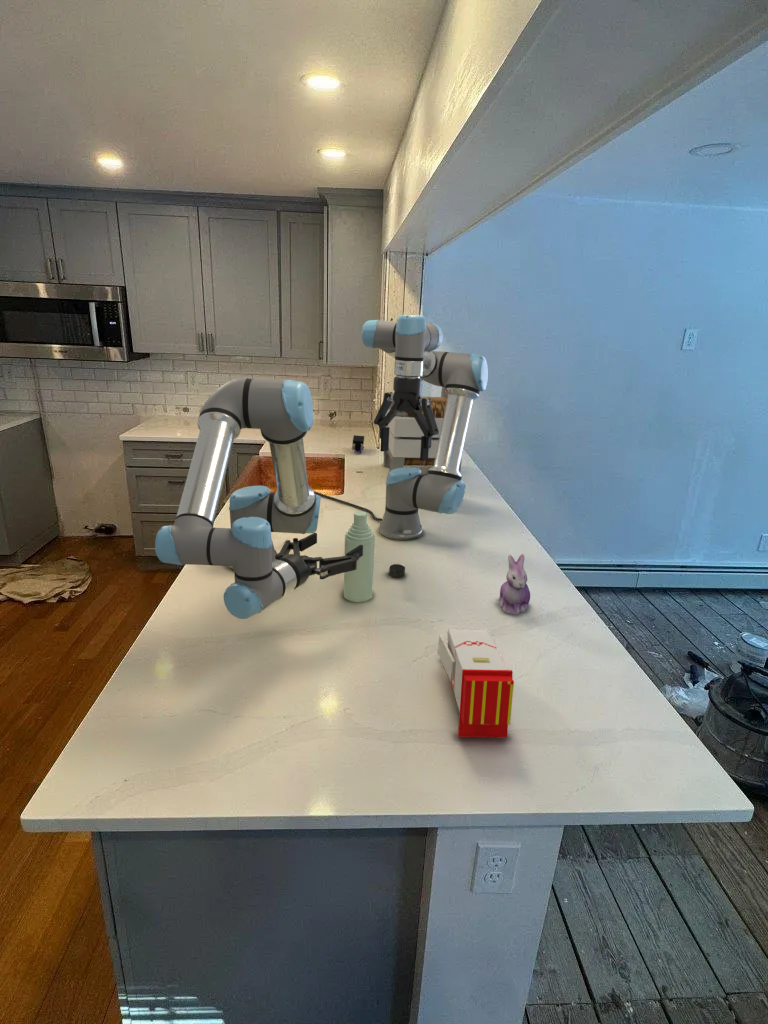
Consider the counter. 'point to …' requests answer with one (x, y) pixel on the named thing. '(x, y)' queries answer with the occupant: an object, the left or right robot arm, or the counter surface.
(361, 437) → the figurine character
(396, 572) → the cap
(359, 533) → the bottle
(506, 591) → the figurine
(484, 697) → the toy
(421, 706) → the counter surface
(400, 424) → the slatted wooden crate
